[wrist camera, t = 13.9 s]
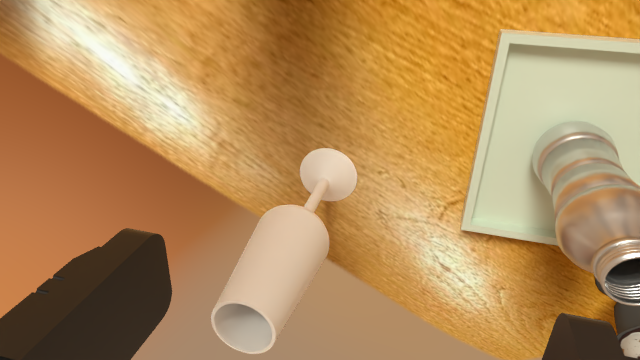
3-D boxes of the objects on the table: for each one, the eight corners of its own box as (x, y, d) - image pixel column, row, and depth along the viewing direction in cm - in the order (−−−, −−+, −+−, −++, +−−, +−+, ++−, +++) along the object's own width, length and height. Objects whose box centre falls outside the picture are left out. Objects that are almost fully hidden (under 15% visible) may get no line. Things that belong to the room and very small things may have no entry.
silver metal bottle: (612, 169, 43) (714, 319, 26) (534, 184, 46) (580, 330, 29) (603, 105, 41) (709, 223, 24) (522, 124, 43) (564, 243, 26)
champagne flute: (288, 177, 53) (182, 324, 33) (321, 135, 50) (225, 270, 29) (334, 212, 54) (258, 378, 33) (369, 173, 51) (309, 331, 30)
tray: (499, 29, 41) (501, 32, 39) (706, 44, 38) (718, 49, 36) (460, 219, 50) (460, 229, 48) (623, 245, 47) (629, 257, 45)
